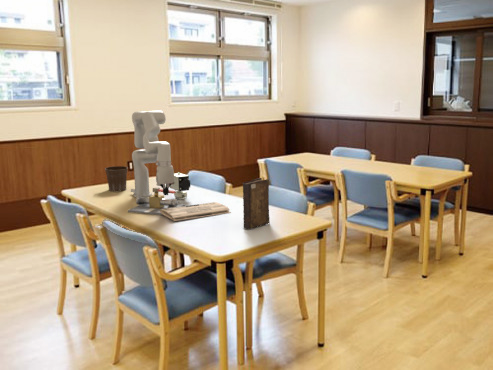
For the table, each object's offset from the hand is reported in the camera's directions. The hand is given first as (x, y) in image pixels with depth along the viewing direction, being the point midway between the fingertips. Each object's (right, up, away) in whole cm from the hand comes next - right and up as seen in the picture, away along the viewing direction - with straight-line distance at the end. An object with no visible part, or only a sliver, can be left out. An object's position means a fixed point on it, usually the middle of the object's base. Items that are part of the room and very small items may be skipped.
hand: (165, 194), depth 286 cm
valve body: (-7, -8, +9) cm, 14 cm away
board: (-7, -9, +10) cm, 15 cm away
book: (+52, -16, -27) cm, 61 cm away
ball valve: (+4, -3, +37) cm, 38 cm away
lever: (-2, +1, +4) cm, 5 cm away
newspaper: (+18, -11, -2) cm, 21 cm away
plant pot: (-46, +2, +65) cm, 80 cm away
